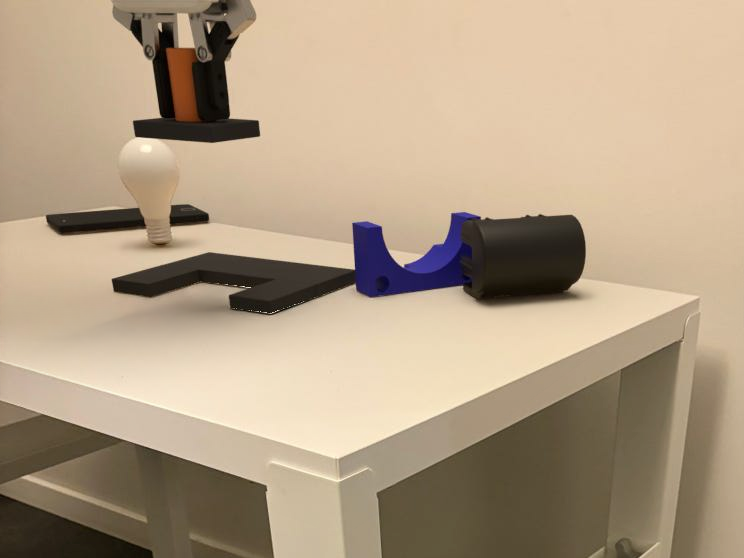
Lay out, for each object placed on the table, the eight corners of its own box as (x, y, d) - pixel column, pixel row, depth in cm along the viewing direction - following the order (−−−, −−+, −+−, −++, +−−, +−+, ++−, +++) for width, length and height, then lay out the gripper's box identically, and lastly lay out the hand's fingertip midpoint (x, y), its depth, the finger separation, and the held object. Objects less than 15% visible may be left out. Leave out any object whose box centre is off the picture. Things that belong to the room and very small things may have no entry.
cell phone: (211, 221, 123) (210, 213, 122) (60, 234, 115) (58, 225, 114) (190, 211, 129) (188, 203, 128) (45, 222, 121) (44, 214, 121)
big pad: (113, 292, 92) (111, 278, 91) (210, 264, 102) (208, 251, 102) (271, 314, 85) (270, 300, 85) (357, 282, 96) (356, 269, 95)
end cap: (484, 307, 88) (485, 226, 84) (456, 289, 93) (456, 213, 90) (584, 298, 91) (589, 219, 87) (551, 281, 97) (555, 207, 93)
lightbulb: (121, 245, 110) (102, 135, 105) (173, 238, 114) (157, 132, 108) (148, 253, 106) (129, 140, 101) (200, 246, 110) (185, 136, 104)
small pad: (134, 137, 79) (120, 47, 76) (185, 131, 84) (174, 46, 80) (212, 143, 76) (201, 50, 73) (260, 136, 81) (252, 48, 77)
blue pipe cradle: (456, 273, 99) (456, 209, 96) (480, 282, 96) (480, 216, 93) (349, 287, 94) (345, 220, 91) (370, 297, 91) (366, 228, 88)
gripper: (32, -176, 70) (85, 116, 80) (214, -192, 63) (247, 127, 73) (111, -161, 75) (151, 110, 85) (285, -174, 69) (306, 120, 79)
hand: (195, 115), depth 79 cm, fingers closed on small pad, 3 cm apart
